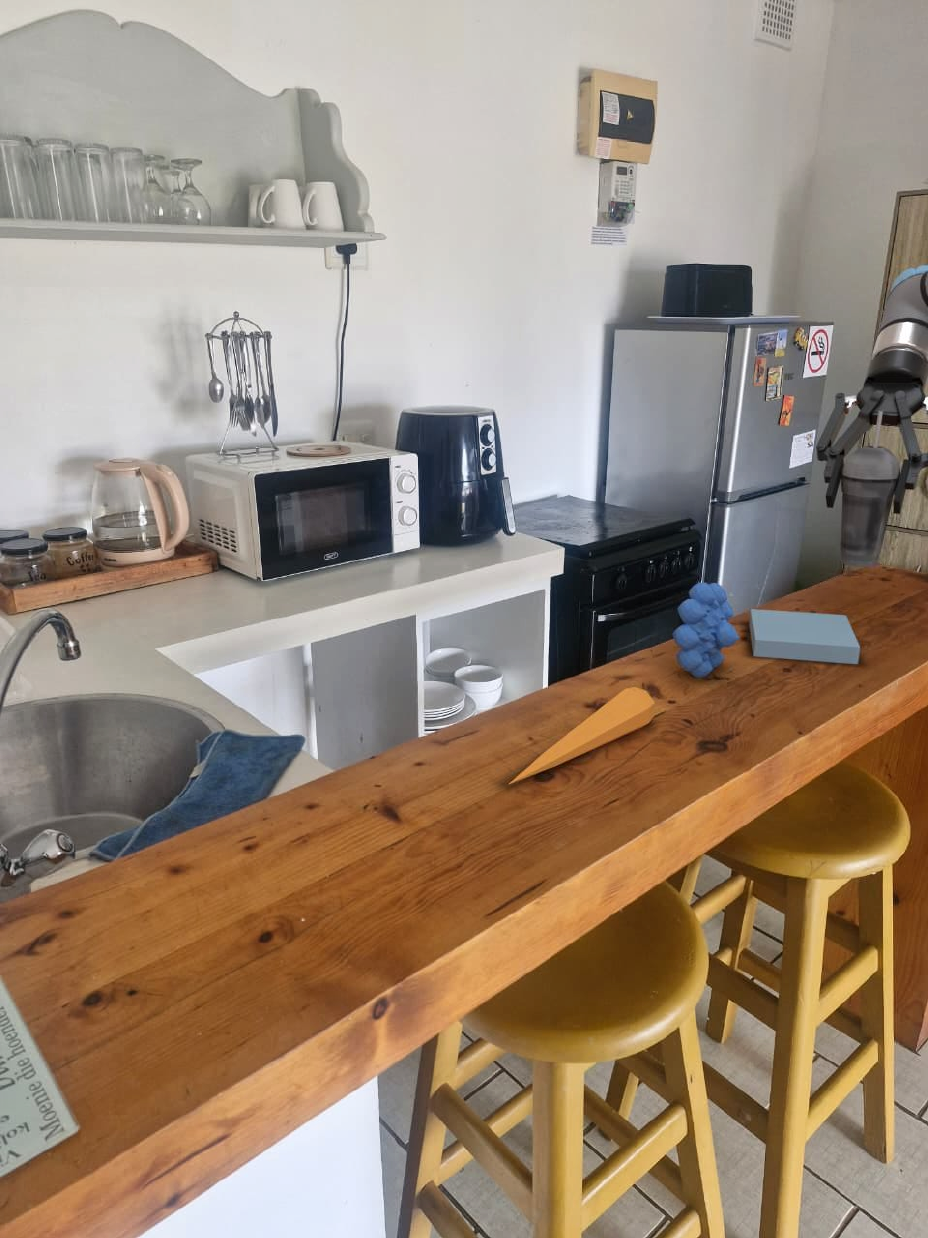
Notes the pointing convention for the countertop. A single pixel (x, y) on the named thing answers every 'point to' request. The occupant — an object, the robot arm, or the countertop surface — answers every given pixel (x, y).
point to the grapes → (704, 629)
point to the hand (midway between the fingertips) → (862, 504)
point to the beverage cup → (867, 501)
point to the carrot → (598, 729)
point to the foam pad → (803, 636)
